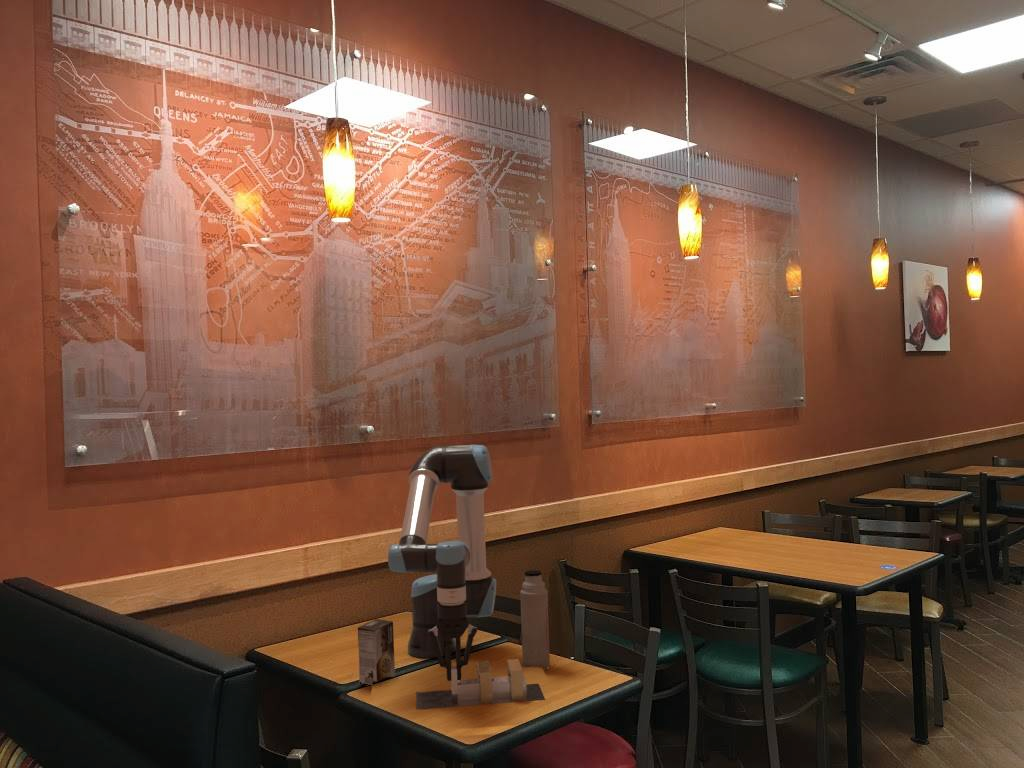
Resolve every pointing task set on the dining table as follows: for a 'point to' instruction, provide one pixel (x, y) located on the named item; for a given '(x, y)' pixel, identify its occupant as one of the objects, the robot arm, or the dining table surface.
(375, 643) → the coffee box
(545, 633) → the thermos bottle
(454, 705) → the collar stand
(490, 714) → the dining table surface
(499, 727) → the dining table surface
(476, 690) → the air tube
